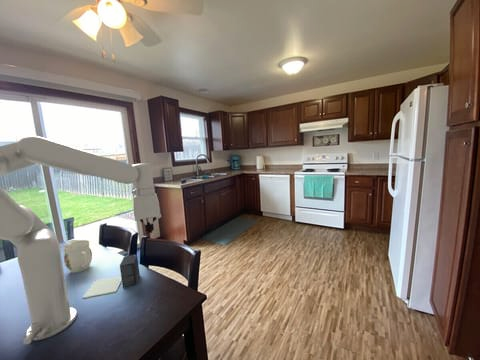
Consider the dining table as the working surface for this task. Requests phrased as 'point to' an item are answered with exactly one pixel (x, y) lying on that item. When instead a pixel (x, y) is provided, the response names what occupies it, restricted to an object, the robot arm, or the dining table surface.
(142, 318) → the dining table surface
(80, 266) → the pitcher
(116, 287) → the mat
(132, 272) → the box
